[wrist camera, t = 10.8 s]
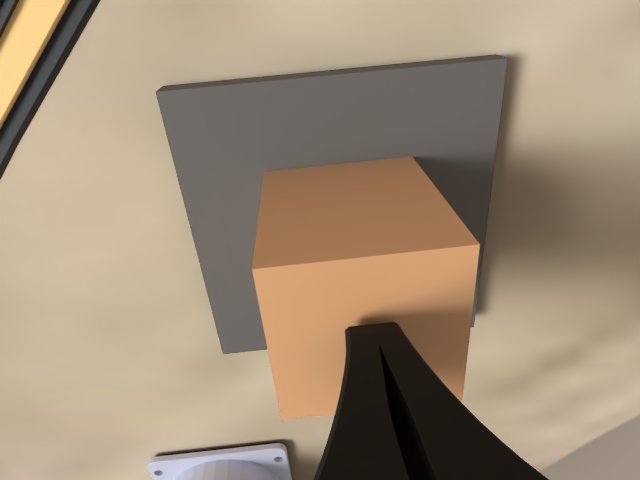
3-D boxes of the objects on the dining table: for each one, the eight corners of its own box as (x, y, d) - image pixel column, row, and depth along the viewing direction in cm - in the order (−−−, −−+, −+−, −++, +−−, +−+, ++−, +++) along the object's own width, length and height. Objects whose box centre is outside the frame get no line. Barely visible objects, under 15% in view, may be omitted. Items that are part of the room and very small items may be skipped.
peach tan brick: (409, 278, 19) (462, 400, 13) (282, 292, 19) (281, 421, 13) (411, 156, 16) (480, 244, 11) (263, 172, 16) (252, 269, 11)
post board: (466, 313, 22) (523, 414, 17) (225, 339, 21) (206, 450, 16) (495, 54, 16) (598, 85, 11) (162, 86, 16) (101, 133, 10)
